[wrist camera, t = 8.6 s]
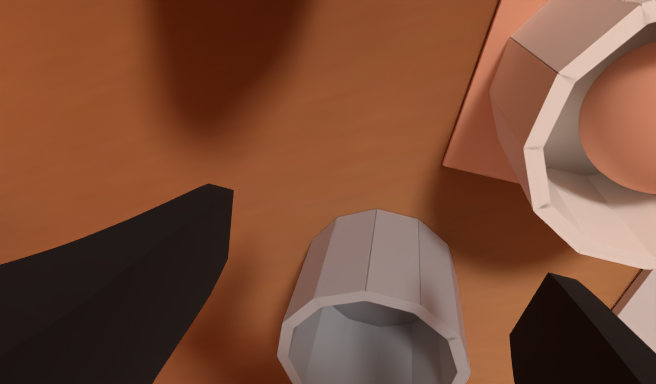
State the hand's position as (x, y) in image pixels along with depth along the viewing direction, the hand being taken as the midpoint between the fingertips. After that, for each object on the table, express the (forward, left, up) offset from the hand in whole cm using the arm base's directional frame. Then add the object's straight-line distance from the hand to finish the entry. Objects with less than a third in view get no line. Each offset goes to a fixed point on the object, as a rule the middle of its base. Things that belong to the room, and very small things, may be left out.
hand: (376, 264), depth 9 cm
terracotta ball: (+3, -8, -7) cm, 11 cm away
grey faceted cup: (-9, -1, -10) cm, 14 cm away
